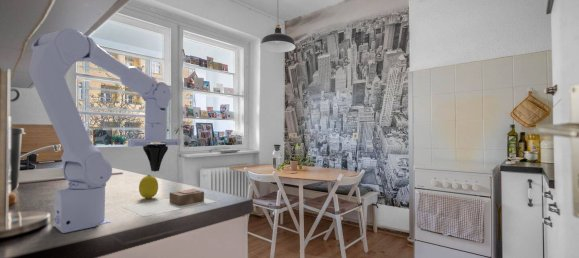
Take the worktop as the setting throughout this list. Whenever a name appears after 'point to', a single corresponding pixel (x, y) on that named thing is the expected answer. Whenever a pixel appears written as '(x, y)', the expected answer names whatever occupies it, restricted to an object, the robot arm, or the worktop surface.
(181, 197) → the brown wooden block
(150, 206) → the mat
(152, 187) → the lemon
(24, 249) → the worktop surface
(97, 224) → the robot arm
